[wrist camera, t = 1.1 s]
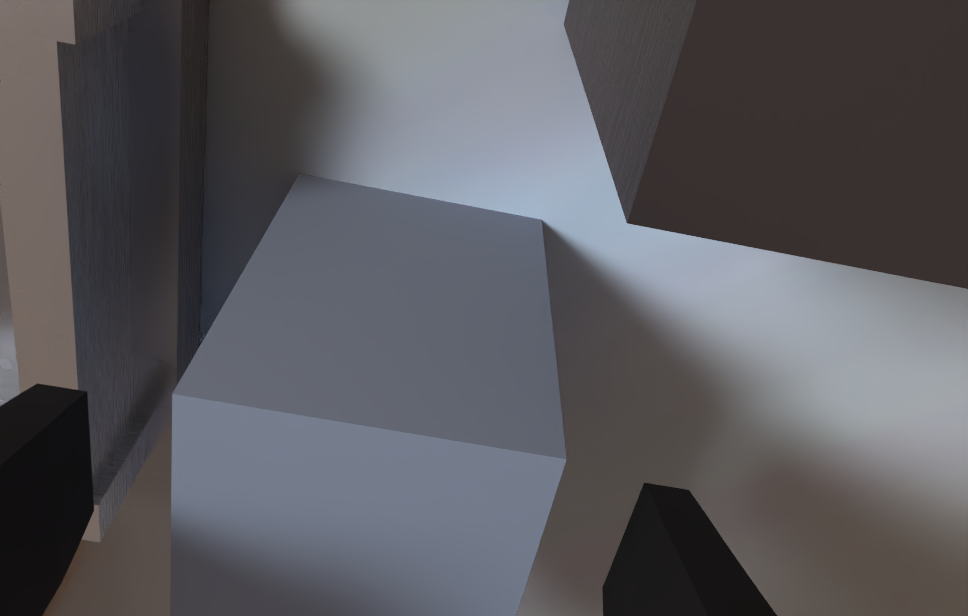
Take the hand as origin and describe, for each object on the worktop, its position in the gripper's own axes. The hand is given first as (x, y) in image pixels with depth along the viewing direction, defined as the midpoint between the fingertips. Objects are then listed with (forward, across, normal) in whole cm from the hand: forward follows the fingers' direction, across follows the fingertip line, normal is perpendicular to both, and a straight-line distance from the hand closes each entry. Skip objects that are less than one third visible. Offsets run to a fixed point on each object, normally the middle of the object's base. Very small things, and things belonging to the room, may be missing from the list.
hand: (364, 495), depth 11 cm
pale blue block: (+4, 0, 0) cm, 5 cm away
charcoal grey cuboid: (+4, -3, -7) cm, 9 cm away
